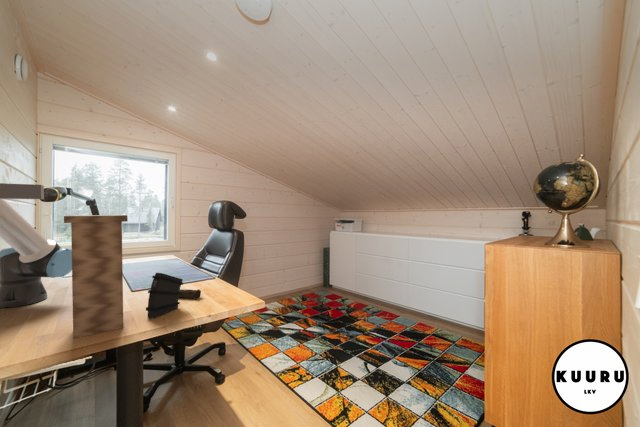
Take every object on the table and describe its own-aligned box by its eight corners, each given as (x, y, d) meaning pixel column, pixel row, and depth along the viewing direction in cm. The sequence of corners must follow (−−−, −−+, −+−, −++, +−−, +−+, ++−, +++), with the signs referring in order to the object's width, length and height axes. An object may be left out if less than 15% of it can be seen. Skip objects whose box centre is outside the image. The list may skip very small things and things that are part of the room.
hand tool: (201, 297, 119) (201, 287, 119) (195, 300, 115) (195, 289, 115) (164, 295, 123) (164, 284, 123) (157, 298, 119) (157, 287, 119)
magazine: (137, 316, 93) (153, 272, 99) (167, 319, 105) (180, 280, 111) (146, 317, 92) (162, 273, 98) (175, 320, 103) (187, 280, 109)
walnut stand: (66, 340, 80) (63, 216, 79) (70, 328, 88) (68, 215, 87) (129, 326, 89) (127, 215, 88) (127, 317, 97) (126, 214, 96)
